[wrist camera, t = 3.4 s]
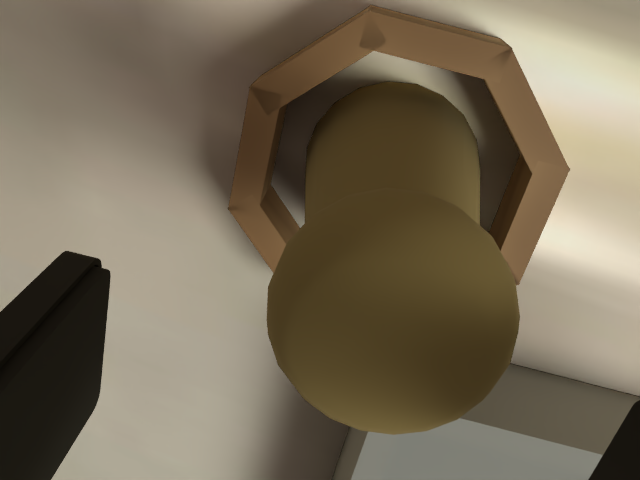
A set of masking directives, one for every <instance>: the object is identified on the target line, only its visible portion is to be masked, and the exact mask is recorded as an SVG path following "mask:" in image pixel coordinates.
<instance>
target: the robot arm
mask: <svg viewBox="0 0 640 480" xmlns="http://www.w3.org/2000/svg"><path fill="white" fill-rule="evenodd" d="M109 288H110V271H109V270H107V269H103V268H102V265H101V261H100V260H99V259H98V258H94V257H90V256H86V255H82V254H78V253H74V252H69V251H65V252H63V253H62V254H61V255H60V256H59V257H57V258H56V259H55V260H54V261H53V262H52V263H51V264H50V265H49V266H48V267H47V268H46V269H45V270H44V271H43V272H42V273H41V274H40V275H39V276H38V277H37V278H35V279H34V280H33V281H32V282H31V283H30V284H29V285H28V286H27V287H26V288H25V289H24V290H23V291H22V292H21V293H20V294H19V295H18V296H17V297H16V298H15V299H13V300H12V301H11V302H10V303H9V304H8V305H7V306H6V307H5V308H4V309H3V310H2V311H1V312H0V480H51V479H52V477H53V475H54V474H55V472H56V471H57V469H58V467H59V466H60V464H61V463H62V461H63V459H64V458H65V456H66V454H67V453H68V451H69V450H70V448H71V446H72V445H73V443H74V442H75V440H76V438H77V437H78V435H79V433H80V432H81V430H82V429H83V427H84V425H85V424H86V422H87V420H88V419H89V417H90V416H91V414H92V412H93V410H94V409H95V406H96V404H97V401H98V398H99V394H100V387H101V376H102V365H103V354H104V343H105V332H106V321H107V310H108V299H109ZM588 480H640V400H639V401H637V402H635V403H634V405H633V406H632V407H631V409H630V411H629V412H628V414H627V416H626V417H625V419H624V421H623V422H622V424H621V426H620V427H619V429H618V431H617V433H616V434H615V436H614V438H613V439H612V441H611V443H610V444H609V446H608V448H607V449H606V451H605V453H604V454H603V456H602V458H601V459H600V461H599V463H598V464H597V466H596V468H595V469H594V471H593V473H592V474H591V476H590V478H589V479H588Z"/></svg>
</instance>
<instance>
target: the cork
mask: <svg viewBox="0 0 640 480" xmlns="http://www.w3.org/2000/svg"><path fill="white" fill-rule="evenodd" d="M519 320H520V314H519V307H518V299H517V291H516V283H515V280H514V277H513V275H512V273H511V270H510V268H509V266H508V264H507V262H506V260H505V259H504V257H503V255H502V253H501V251H500V249H499V248H498V246H497V244H496V242H495V240H494V239H493V237H492V236H491V235H490V234H489V233H488V232H487V231H486V230H484V229H483V228H482V227H481V226H480V160H479V153H478V146H477V139H476V137H475V135H474V133H473V132H472V130H471V128H470V126H469V124H468V122H467V120H466V118H465V116H464V115H463V114H462V113H461V112H460V111H459V110H458V109H457V108H456V107H455V106H454V105H452V104H451V103H450V102H449V101H448V100H447V99H446V98H445V97H444V96H442V95H440V94H438V93H436V92H433V91H431V90H429V89H426V88H424V87H422V86H420V85H417V84H409V83H398V82H384V83H379V84H375V85H370V86H366V87H361V88H359V89H357V90H355V91H354V92H352V93H350V94H349V95H347V96H345V97H343V98H342V99H340V100H338V101H337V102H335V103H334V104H333V106H332V107H331V108H330V109H329V110H328V111H327V112H326V114H325V115H324V116H323V117H322V118H321V119H320V120H319V122H318V123H317V125H316V127H315V130H314V132H313V134H312V137H311V139H310V142H309V144H308V146H307V155H306V170H305V224H304V225H303V226H302V227H301V228H300V229H299V230H298V231H297V232H296V234H295V235H294V236H293V237H292V238H291V239H290V240H289V241H288V242H287V244H286V246H285V248H284V250H283V253H282V255H281V257H280V260H279V262H278V264H277V267H276V269H275V271H274V274H273V276H272V279H271V281H270V284H269V286H268V303H267V327H268V335H269V339H270V342H271V345H272V348H273V351H274V354H275V357H276V360H277V363H278V365H279V367H280V368H281V369H282V371H283V372H284V373H285V375H286V376H287V377H288V379H289V380H290V381H291V383H292V384H293V385H294V387H295V388H296V389H297V391H298V392H299V393H300V394H301V396H302V397H303V398H304V400H306V401H307V402H308V403H310V404H311V405H312V406H314V407H315V408H317V409H318V410H319V411H321V412H322V413H323V414H325V415H326V416H327V417H329V418H330V419H333V420H335V421H338V422H340V423H343V424H345V425H348V426H350V427H353V428H355V429H358V430H361V431H368V432H376V433H383V434H391V435H396V434H406V433H415V432H424V431H428V430H431V429H434V428H436V427H439V426H442V425H444V424H447V423H450V422H452V421H455V420H457V419H459V418H460V417H461V416H463V415H464V414H465V413H467V412H468V411H469V410H471V409H472V408H473V407H475V406H476V405H477V404H479V403H480V402H481V401H483V400H484V398H485V397H486V396H487V395H488V394H489V393H490V392H491V390H492V389H493V388H494V386H495V385H496V383H497V382H498V380H499V379H500V378H501V376H502V375H503V373H504V372H505V370H506V369H507V368H508V366H509V365H510V361H511V358H512V354H513V350H514V346H515V342H516V338H517V334H518V328H519Z"/></svg>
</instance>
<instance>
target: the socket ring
mask: <svg viewBox="0 0 640 480" xmlns="http://www.w3.org/2000/svg"><path fill="white" fill-rule="evenodd" d="M372 51H377V52H381V53H385V54H389V55H393V56H397V57H401V58H404V59H408V60H412V61H416V62H420V63H424V64H428V65H431V66H435V67H439V68H443V69H447V70H451V71H455V72H458V73H462V74H466V75H470V76H474V77H478V78H481V79H482V80H483V82H484V83H485V85H486V87H487V89H488V91H489V93H490V95H491V97H492V99H493V101H494V103H495V105H496V107H497V109H498V111H499V113H500V115H501V117H502V119H503V121H504V123H505V125H506V127H507V129H508V131H509V133H510V135H511V137H512V139H513V141H514V143H515V145H516V147H517V149H518V151H519V153H520V156H519V158H518V161H517V164H516V166H515V169H514V171H513V174H512V176H511V179H510V181H509V184H508V186H507V189H506V191H505V194H504V196H503V199H502V201H501V204H500V206H499V209H498V211H497V214H496V216H495V219H494V221H493V224H492V226H491V229H490V231H489V234H490V235H491V236H492V237H493V239H494V240H495V242H496V244H497V246H498V248H499V249H500V251H501V253H502V255H503V257H504V259H505V260H506V262H507V264H508V266H509V268H510V270H511V273H512V275H513V277H514V280H515V283H516V285H519V284H520V280H521V278H522V276H523V274H524V271H525V269H526V267H527V265H528V262H529V260H530V258H531V256H532V253H533V251H534V249H535V247H536V244H537V242H538V240H539V238H540V235H541V233H542V231H543V229H544V226H545V224H546V222H547V220H548V217H549V215H550V213H551V211H552V208H553V206H554V204H555V202H556V199H557V197H558V195H559V193H560V190H561V188H562V186H563V184H564V181H565V179H566V177H567V175H568V172H569V171H570V168H569V167H568V165H567V163H566V161H565V159H564V157H563V155H562V153H561V151H560V149H559V147H558V144H557V142H556V140H555V138H554V136H553V134H552V132H551V130H550V128H549V126H548V124H547V121H546V119H545V117H544V115H543V113H542V111H541V109H540V107H539V105H538V103H537V101H536V98H535V96H534V94H533V92H532V90H531V88H530V86H529V84H528V82H527V80H526V78H525V75H524V73H523V71H522V69H521V67H520V65H519V63H518V61H517V59H516V57H515V54H514V52H513V50H512V48H511V47H510V46H509V45H508V44H507V43H505V42H504V41H503V40H502V39H500V38H495V37H492V36H488V35H484V34H480V33H476V32H472V31H468V30H465V29H461V28H457V27H453V26H449V25H445V24H441V23H438V22H434V21H430V20H426V19H422V18H418V17H415V16H411V15H407V14H403V13H399V12H395V11H391V10H388V9H384V8H380V7H376V6H373V5H370V6H369V7H368V8H366V9H365V10H363V11H362V12H360V13H358V14H357V15H355V16H354V17H352V18H351V19H349V20H347V21H346V22H344V23H343V24H341V25H340V26H338V27H337V28H335V29H333V30H332V31H330V32H329V33H327V34H326V35H324V36H322V37H321V38H319V39H318V40H316V41H315V42H313V43H312V44H310V45H308V46H307V47H305V48H304V49H302V50H301V51H299V52H297V53H296V54H294V55H293V56H291V57H290V58H288V59H287V60H285V61H283V62H282V63H280V64H279V65H277V66H276V67H274V68H272V69H271V70H269V71H268V72H266V73H265V74H262V75H261V76H260V77H259V78H258V79H257V80H256V81H255V82H254V83H253V84H252V85H251V86H250V87H249V88H250V90H249V95H248V101H247V106H246V112H245V118H244V123H243V129H242V134H241V140H240V146H239V151H238V157H237V162H236V168H235V174H234V179H233V185H232V190H231V196H230V202H229V207H228V210H229V211H230V212H231V214H232V215H233V216H234V218H235V219H236V221H237V222H238V223H239V225H240V226H241V228H242V229H243V230H244V232H245V233H246V235H247V236H248V238H249V239H250V240H251V242H252V243H253V245H254V246H255V247H256V249H257V250H258V252H259V253H260V254H261V256H262V257H263V259H264V260H265V261H266V263H267V264H268V266H269V267H270V269H271V270H272V271H273V273H274V271H275V269H276V267H277V264H278V262H279V260H280V257H281V255H282V253H283V250H284V248H285V246H286V244H287V242H288V241H289V240H290V239H291V238H292V237H293V236H294V235H295V234H296V232H297V231H298V230H299V229H300V227H299V226H298V224H297V223H296V221H295V220H294V218H293V217H292V215H291V214H290V213H289V211H288V210H287V208H286V207H285V205H284V204H283V202H282V201H281V199H280V198H279V196H278V195H277V193H276V192H275V190H274V189H273V187H272V186H271V180H272V175H273V170H274V165H275V161H276V156H277V151H278V146H279V141H280V137H281V132H282V127H283V122H284V117H285V113H286V108H287V103H289V102H291V101H292V100H294V99H296V98H297V97H299V96H300V95H302V94H304V93H305V92H307V91H309V90H310V89H312V88H314V87H315V86H317V85H318V84H320V83H322V82H323V81H325V80H327V79H328V78H330V77H331V76H333V75H335V74H336V73H338V72H340V71H341V70H343V69H345V68H346V67H348V66H349V65H351V64H353V63H354V62H356V61H358V60H359V59H361V58H363V57H364V56H366V55H367V54H369V53H371V52H372Z"/></svg>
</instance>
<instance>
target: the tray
mask: <svg viewBox="0 0 640 480" xmlns="http://www.w3.org/2000/svg"><path fill="white" fill-rule="evenodd" d="M639 400H640V397H638V396H634V395H630V394H626V393H622V392H618V391H614V390H611V389H607V388H603V387H599V386H595V385H591V384H587V383H583V382H579V381H576V380H572V379H568V378H564V377H560V376H556V375H552V374H548V373H545V372H541V371H537V370H533V369H529V368H525V367H521V366H517V365H514V364H510V365H509V366H508V368H507V369H506V370H505V372H504V373H503V375H502V376H501V378H500V379H499V380H498V382H497V383H496V385H495V386H494V388H493V389H492V390H491V392H490V393H489V394H488V395H487V396H486V397H485V398H484V400H483V401H481V402H480V403H479V404H477V405H476V406H475V407H473V408H472V409H471V410H469V411H468V412H467V413H465V414H464V415H463V416H461V417H460V418H459V419H457V420H455V421H452V422H450V423H447V424H444V425H442V426H439V427H436V428H434V429H431V430H428V431H424V432H415V433H406V434H396V435H391V434H383V433H376V432H368V431H361V430H358V429H355V428H353V427H349V430H348V433H347V436H346V439H345V442H344V445H343V448H342V451H341V454H340V457H339V460H338V463H337V466H336V469H335V472H334V475H333V478H332V480H588V479H589V478H590V476H591V474H592V473H593V471H594V469H595V468H596V466H597V464H598V463H599V461H600V459H601V458H602V456H603V454H604V453H605V451H606V449H607V448H608V446H609V444H610V443H611V441H612V439H613V438H614V436H615V434H616V433H617V431H618V429H619V427H620V426H621V424H622V422H623V421H624V419H625V417H626V416H627V414H628V412H629V411H630V409H631V407H632V406H633V405H634V403H635V402H637V401H639Z"/></svg>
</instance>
